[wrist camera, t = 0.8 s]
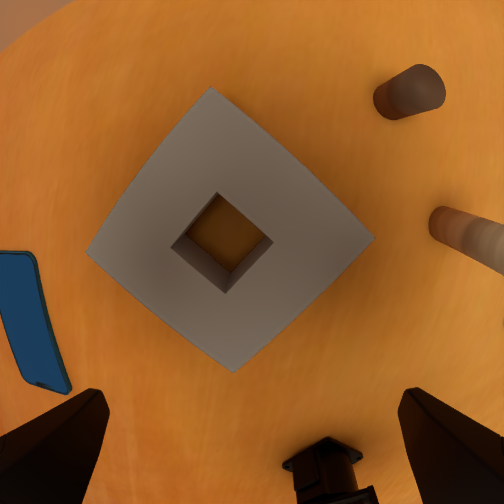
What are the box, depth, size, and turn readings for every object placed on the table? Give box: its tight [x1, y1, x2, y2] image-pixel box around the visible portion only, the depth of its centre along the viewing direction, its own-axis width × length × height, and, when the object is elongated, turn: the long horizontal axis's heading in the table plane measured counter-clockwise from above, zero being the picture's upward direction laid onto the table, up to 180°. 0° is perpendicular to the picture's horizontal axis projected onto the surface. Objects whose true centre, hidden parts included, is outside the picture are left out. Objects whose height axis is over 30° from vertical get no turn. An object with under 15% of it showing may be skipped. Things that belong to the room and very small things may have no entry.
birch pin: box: [429, 206, 504, 276], centre depth 15 cm, size 3×3×9 cm
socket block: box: [85, 87, 375, 373], centre depth 18 cm, size 12×12×4 cm
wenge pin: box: [373, 64, 446, 120], centre depth 14 cm, size 3×3×5 cm
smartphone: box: [0, 251, 72, 395], centre depth 22 cm, size 7×1×15 cm
